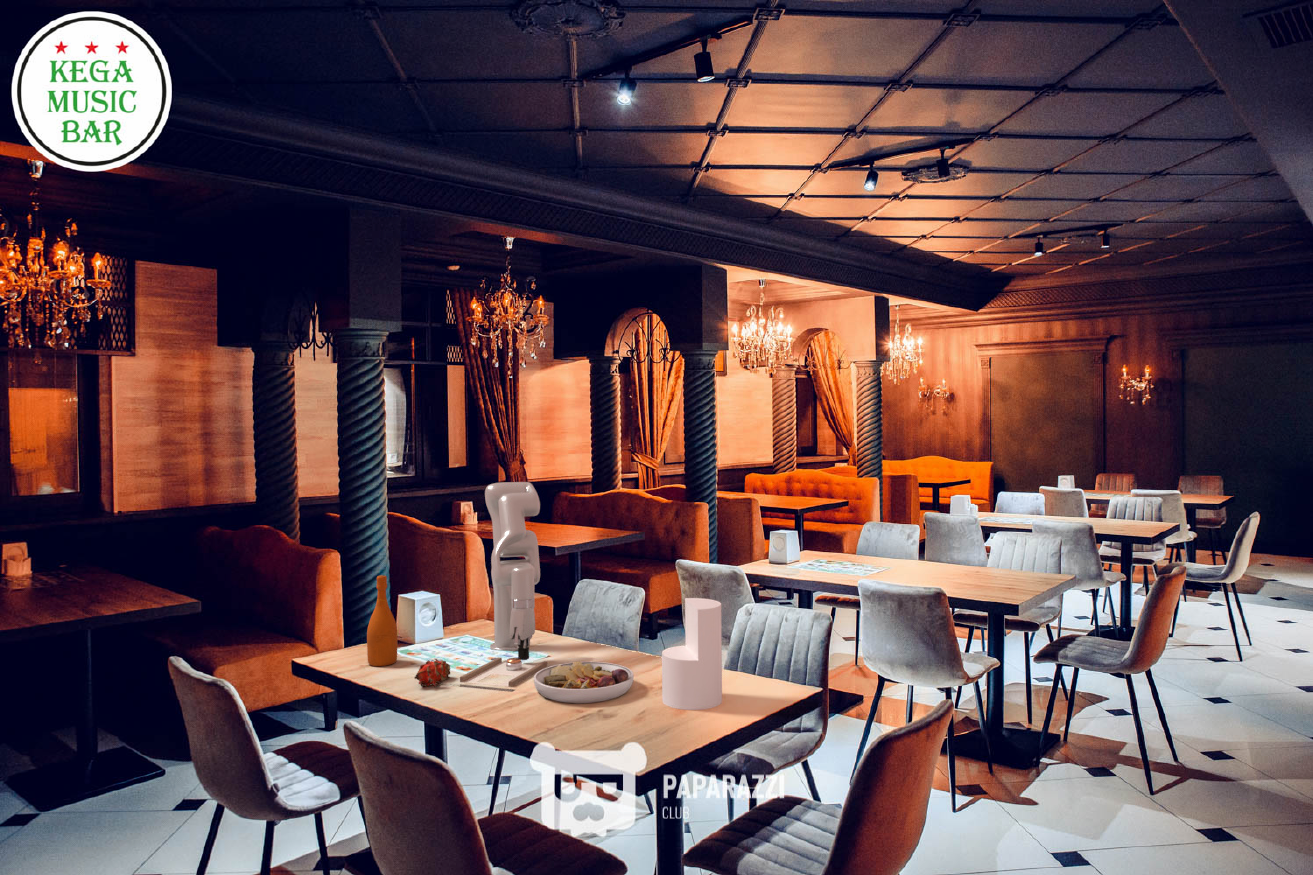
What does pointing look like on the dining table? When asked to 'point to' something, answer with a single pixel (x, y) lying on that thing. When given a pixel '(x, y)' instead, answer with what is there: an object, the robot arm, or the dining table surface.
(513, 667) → the puck
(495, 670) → the board
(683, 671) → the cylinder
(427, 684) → the dragon fruit
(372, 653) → the wine bottle
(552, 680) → the bowl
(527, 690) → the dining table surface
